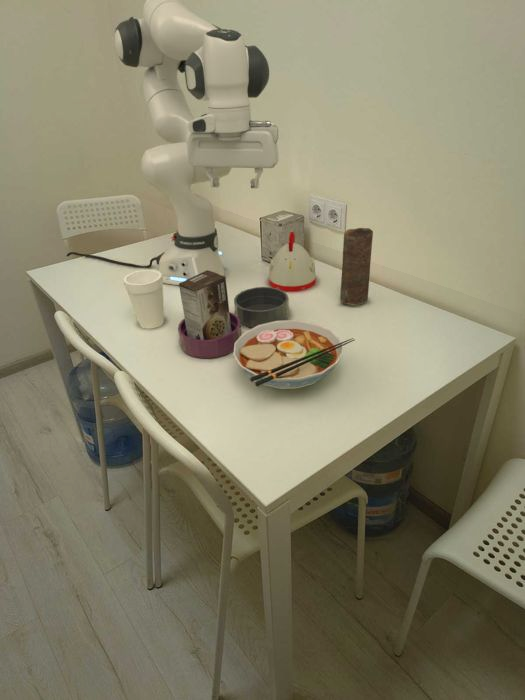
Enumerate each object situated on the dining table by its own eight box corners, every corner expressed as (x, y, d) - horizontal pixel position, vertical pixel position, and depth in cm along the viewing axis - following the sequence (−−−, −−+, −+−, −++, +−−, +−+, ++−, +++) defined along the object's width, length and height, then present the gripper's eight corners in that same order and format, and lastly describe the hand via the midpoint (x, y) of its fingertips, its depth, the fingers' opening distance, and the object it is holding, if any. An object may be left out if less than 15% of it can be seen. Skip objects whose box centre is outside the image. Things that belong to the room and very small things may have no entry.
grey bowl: (229, 326, 122) (227, 309, 119) (243, 301, 134) (242, 285, 131) (282, 331, 119) (282, 313, 116) (293, 305, 130) (292, 288, 128)
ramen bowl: (303, 335, 117) (303, 305, 112) (368, 380, 100) (371, 347, 96) (212, 370, 106) (208, 339, 102) (269, 427, 89) (267, 393, 85)
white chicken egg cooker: (266, 291, 139) (263, 241, 130) (272, 271, 150) (270, 224, 142) (314, 292, 136) (314, 241, 128) (317, 272, 148) (317, 224, 140)
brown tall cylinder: (367, 309, 126) (372, 236, 115) (339, 308, 128) (342, 235, 117) (367, 296, 132) (373, 225, 122) (341, 295, 134) (344, 225, 123)
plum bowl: (171, 356, 112) (167, 338, 109) (193, 325, 124) (191, 307, 121) (231, 362, 108) (229, 343, 106) (248, 329, 121) (247, 311, 118)
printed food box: (214, 328, 121) (207, 269, 112) (232, 336, 117) (227, 275, 108) (187, 344, 115) (177, 282, 106) (205, 352, 111) (196, 290, 103)
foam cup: (134, 334, 121) (123, 287, 114) (132, 317, 129) (122, 272, 122) (171, 327, 123) (163, 281, 116) (168, 311, 131) (160, 267, 124)
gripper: (281, 118, 102) (282, 184, 110) (191, 118, 107) (198, 182, 114) (274, 123, 97) (276, 192, 105) (180, 123, 102) (188, 189, 109)
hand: (235, 187), depth 109 cm, fingers open, 8 cm apart
